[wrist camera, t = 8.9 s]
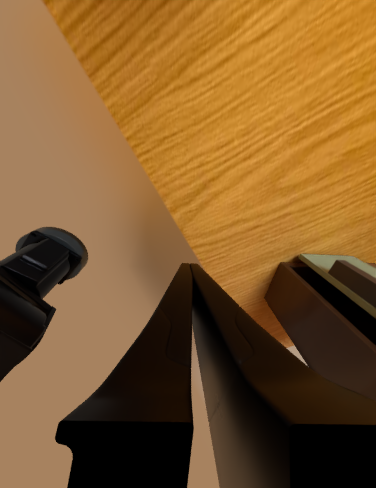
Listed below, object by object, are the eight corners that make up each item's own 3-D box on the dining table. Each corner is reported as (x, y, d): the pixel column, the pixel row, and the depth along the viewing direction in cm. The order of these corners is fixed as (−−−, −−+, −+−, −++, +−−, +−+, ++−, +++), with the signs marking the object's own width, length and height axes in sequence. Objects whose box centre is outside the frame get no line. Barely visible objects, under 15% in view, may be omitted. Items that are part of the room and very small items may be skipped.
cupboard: (263, 298, 28) (352, 434, 14) (286, 248, 23) (457, 383, 9) (340, 298, 30) (486, 419, 16) (377, 253, 25) (634, 370, 11)
